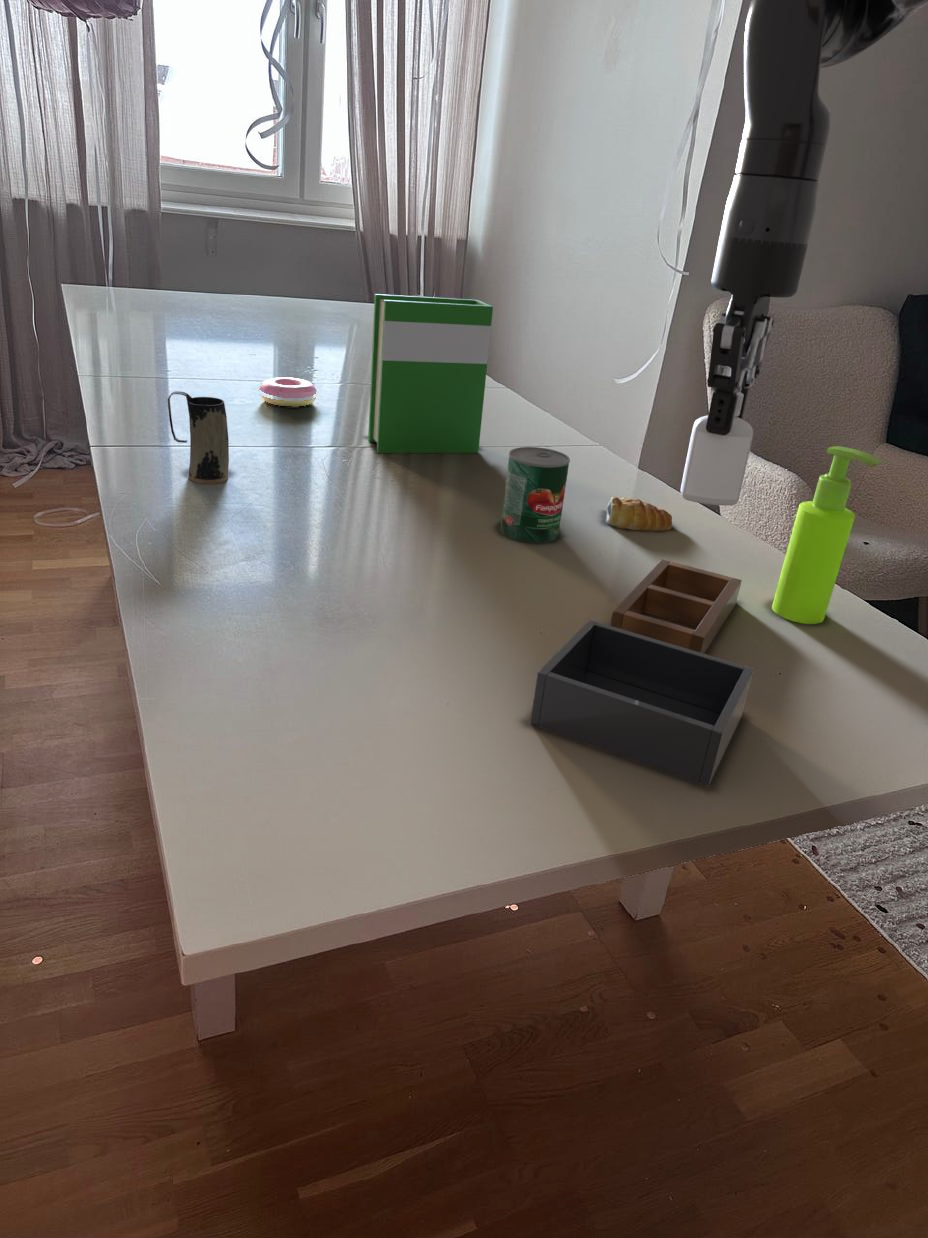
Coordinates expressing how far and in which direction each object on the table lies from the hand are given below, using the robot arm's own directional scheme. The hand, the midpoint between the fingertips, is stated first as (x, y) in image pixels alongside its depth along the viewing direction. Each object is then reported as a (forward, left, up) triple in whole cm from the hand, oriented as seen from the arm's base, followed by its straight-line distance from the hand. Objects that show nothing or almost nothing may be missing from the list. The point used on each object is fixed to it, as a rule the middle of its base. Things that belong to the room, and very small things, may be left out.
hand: (723, 428), depth 86 cm
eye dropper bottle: (0, 0, -7) cm, 7 cm away
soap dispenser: (-11, -15, -23) cm, 29 cm away
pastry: (+15, -32, -23) cm, 42 cm away
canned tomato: (+25, -18, -23) cm, 38 cm away
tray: (+1, -4, -23) cm, 23 cm away
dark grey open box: (-2, +19, -23) cm, 30 cm away
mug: (+72, -7, -23) cm, 76 cm away
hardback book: (+57, -45, -23) cm, 76 cm away
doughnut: (+92, -52, -23) cm, 108 cm away
